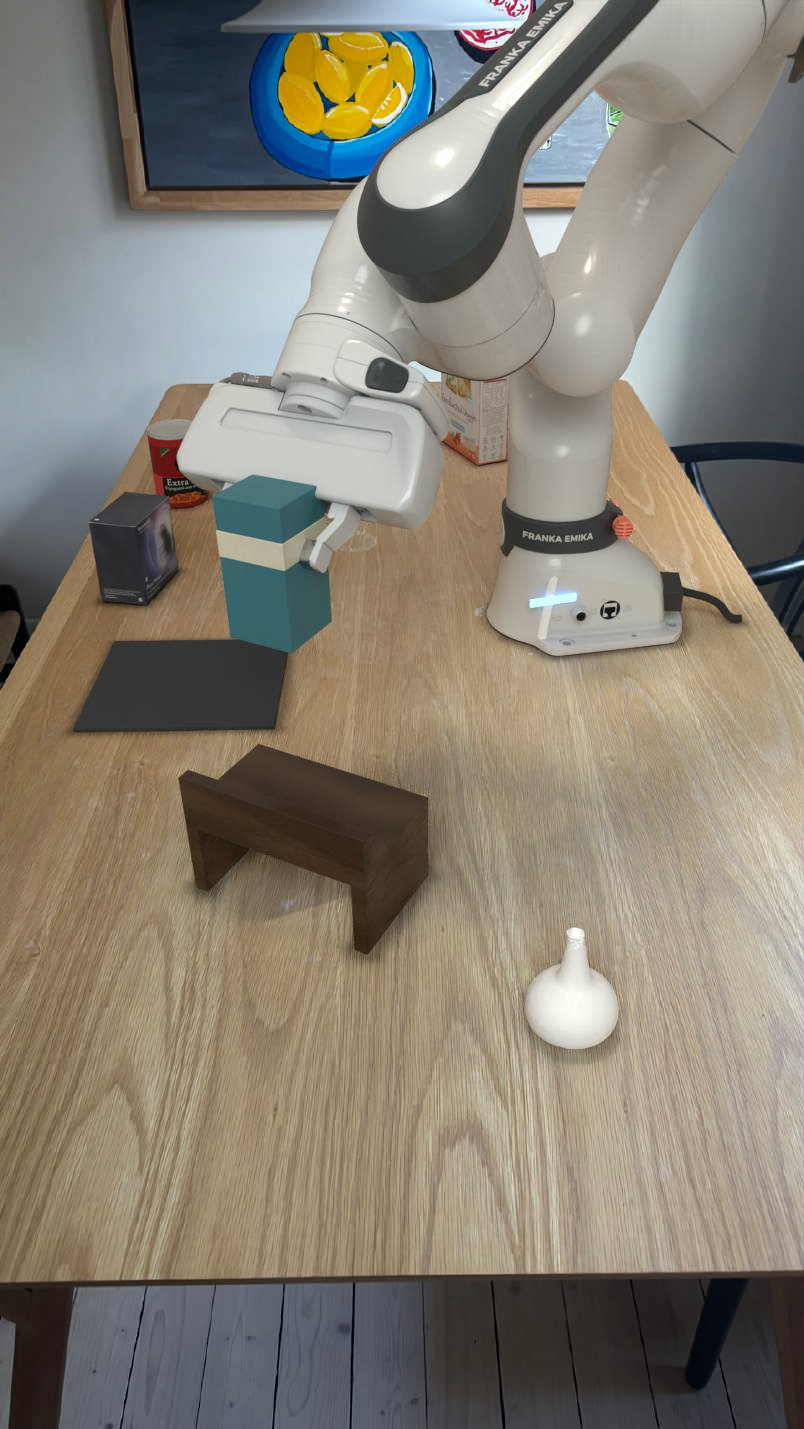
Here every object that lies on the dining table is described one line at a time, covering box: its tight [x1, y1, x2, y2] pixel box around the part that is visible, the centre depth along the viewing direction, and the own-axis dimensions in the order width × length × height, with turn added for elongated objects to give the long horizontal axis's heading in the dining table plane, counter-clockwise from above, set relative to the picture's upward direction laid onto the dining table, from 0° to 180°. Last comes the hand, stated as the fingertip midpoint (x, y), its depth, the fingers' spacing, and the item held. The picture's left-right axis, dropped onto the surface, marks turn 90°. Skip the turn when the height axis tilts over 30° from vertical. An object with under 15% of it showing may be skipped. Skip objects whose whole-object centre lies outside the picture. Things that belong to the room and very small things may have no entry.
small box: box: [88, 491, 179, 606], centre depth 127 cm, size 11×6×10 cm, turn 168°
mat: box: [72, 638, 289, 733], centre depth 109 cm, size 20×18×1 cm
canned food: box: [146, 418, 209, 509], centre depth 152 cm, size 8×8×11 cm
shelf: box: [178, 743, 430, 956], centre depth 80 cm, size 10×16×11 cm, turn 62°
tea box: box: [212, 474, 333, 654], centre depth 74 cm, size 6×6×11 cm
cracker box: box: [440, 372, 509, 466], centre depth 166 cm, size 14×6×21 cm, turn 23°
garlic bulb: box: [524, 926, 620, 1051], centre depth 69 cm, size 6×6×8 cm
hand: (270, 559), depth 73 cm, fingers closed on tea box, 5 cm apart
